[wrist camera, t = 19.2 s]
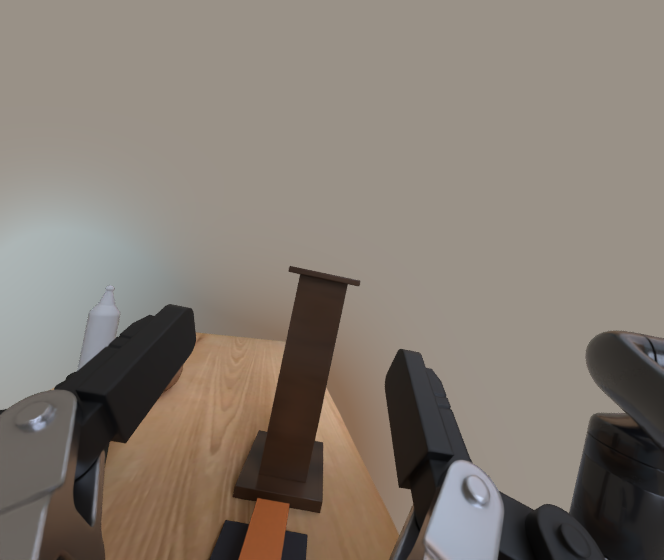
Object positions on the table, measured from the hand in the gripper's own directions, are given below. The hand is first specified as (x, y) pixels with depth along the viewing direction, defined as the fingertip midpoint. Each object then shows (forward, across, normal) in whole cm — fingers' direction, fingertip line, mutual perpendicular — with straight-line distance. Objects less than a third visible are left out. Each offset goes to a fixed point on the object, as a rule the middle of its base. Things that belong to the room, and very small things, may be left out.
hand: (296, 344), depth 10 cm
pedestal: (+11, +1, -40) cm, 41 cm away
